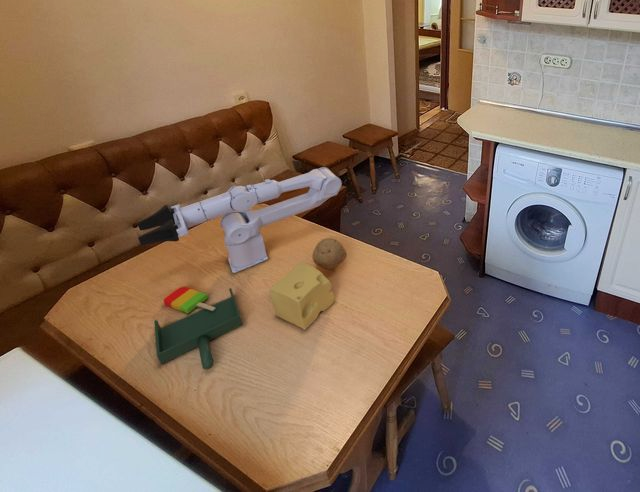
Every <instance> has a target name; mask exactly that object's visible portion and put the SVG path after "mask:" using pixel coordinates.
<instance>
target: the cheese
mask: <svg viewBox="0 0 640 492" xmlns="http://www.w3.org/2000/svg"><path fill="white" fill-rule="evenodd" d="M331 289H332V283H331V281H330V280H329V279H328V278H327V277H326V276H325V275H324V273H323V272H322V271H320V270H318V269H317V268H315V267H314V266H312V265H309V264H308V263H305V262H302V261H301V262H299V264H298V265H296V266H295V267H294V268H293V269H292V270H291V271H289V272H288V273H287V275H285V276H284V277H282V279H280V280H279V281H278V282H277V283H275V284H274V285H273V286H271V287H270V301H271V305H272V308H273V310H274V312H275V314H276V315H277V317H278V318H281V319H283V320H284V321H286V322H288V323H291V324H292V325H294V326H296V327H299V328H300V329H302V330H304V331H305V330H307V329H308V328H309V327H310V326H311V324H312V323H314V321H316V320H317V319H318V317H319V314H320V312H321V311H322V312H324V311H326V310H328V308H329V307H330V306H331V305H333V304H334V303H335V301H336V300H335V299H336V297H335V293H334V292H333V291H332V290H331Z"/></svg>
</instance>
